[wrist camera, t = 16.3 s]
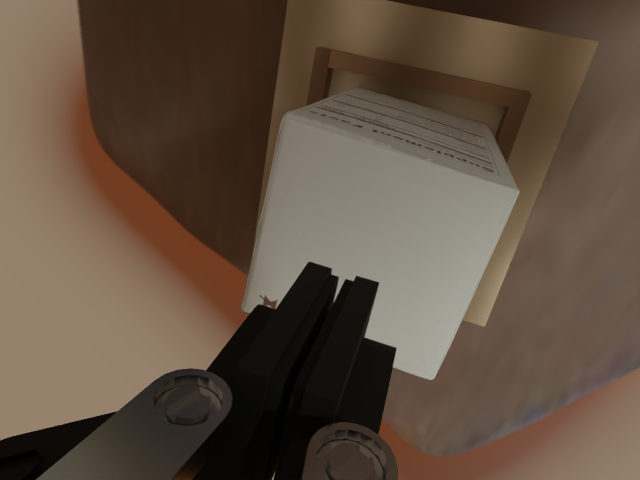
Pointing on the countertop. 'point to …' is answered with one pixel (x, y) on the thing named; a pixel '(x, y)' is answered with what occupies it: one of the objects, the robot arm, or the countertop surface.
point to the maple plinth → (440, 87)
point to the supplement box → (385, 214)
